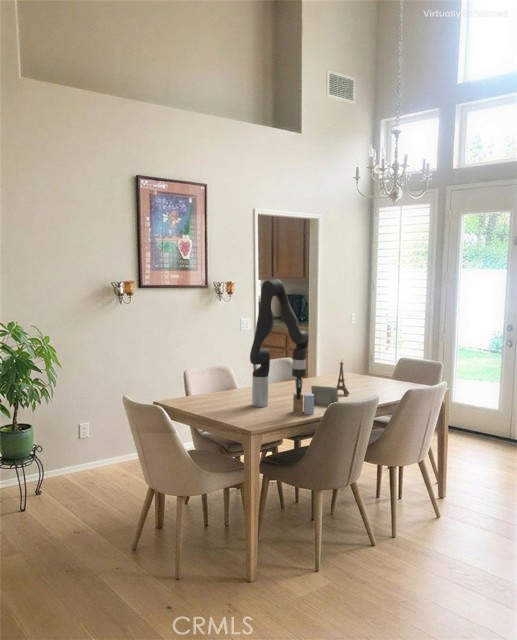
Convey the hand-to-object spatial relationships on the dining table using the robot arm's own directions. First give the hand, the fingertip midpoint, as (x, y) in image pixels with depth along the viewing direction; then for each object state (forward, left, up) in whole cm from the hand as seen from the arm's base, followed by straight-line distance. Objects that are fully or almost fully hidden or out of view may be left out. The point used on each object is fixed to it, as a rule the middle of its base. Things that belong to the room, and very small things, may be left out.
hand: (298, 399), depth 301 cm
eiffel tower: (-56, +31, -9) cm, 65 cm away
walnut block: (-4, 0, -8) cm, 9 cm away
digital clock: (-29, +18, -9) cm, 35 cm away
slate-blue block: (-4, +6, -8) cm, 11 cm away
